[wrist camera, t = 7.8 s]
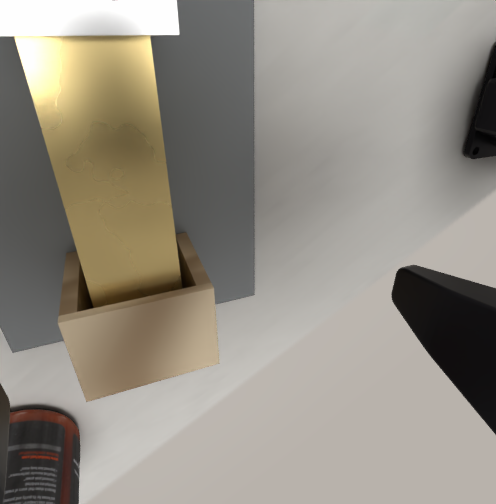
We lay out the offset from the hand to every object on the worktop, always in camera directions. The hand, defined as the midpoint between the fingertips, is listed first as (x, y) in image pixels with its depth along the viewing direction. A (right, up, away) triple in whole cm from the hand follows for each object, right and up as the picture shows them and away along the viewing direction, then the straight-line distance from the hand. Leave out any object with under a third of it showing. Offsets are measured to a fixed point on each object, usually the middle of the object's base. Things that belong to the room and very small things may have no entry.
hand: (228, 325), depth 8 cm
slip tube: (-5, +5, +7) cm, 10 cm away
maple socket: (-5, 0, +10) cm, 12 cm away
